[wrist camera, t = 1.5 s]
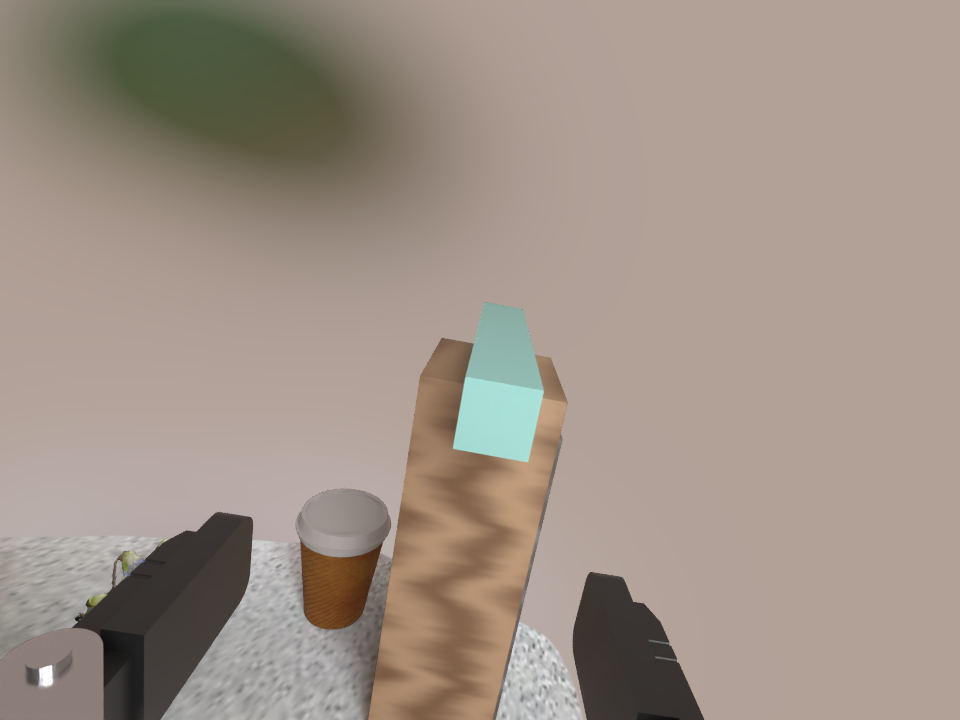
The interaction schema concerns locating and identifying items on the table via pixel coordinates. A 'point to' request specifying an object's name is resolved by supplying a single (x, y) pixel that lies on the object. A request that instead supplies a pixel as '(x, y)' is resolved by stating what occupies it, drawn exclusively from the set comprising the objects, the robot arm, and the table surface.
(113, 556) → the table surface
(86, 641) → the robot arm
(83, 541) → the table surface
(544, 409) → the tall wooden pillar block
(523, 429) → the rail
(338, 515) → the disposable coffee cup
